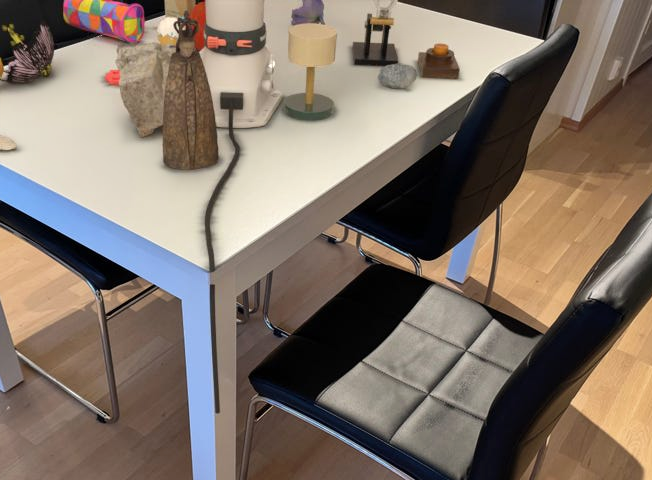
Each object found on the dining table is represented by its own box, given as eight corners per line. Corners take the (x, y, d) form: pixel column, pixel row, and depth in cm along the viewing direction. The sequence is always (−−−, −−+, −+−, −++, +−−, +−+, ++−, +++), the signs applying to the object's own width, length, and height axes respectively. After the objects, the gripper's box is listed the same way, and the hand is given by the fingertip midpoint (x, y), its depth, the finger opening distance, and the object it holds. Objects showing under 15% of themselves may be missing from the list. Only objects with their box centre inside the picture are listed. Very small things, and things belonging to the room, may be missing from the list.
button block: (457, 79, 152) (461, 60, 149) (422, 77, 152) (425, 58, 149) (451, 63, 160) (455, 45, 157) (417, 61, 160) (420, 43, 157)
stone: (88, 44, 122) (127, 74, 114) (172, 30, 130) (214, 57, 122) (98, 115, 131) (134, 147, 123) (175, 98, 139) (215, 127, 131)
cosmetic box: (166, 41, 165) (161, -16, 156) (175, 35, 168) (170, -20, 159) (189, 45, 163) (186, -12, 155) (198, 39, 166) (195, -16, 158)
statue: (188, 177, 115) (177, 17, 98) (158, 163, 118) (141, 6, 101) (224, 160, 120) (219, 5, 103) (194, 147, 123) (184, -5, 106)
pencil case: (61, -20, 163) (90, -12, 170) (56, 22, 167) (85, 28, 174) (126, 0, 154) (153, 7, 162) (119, 44, 158) (147, 49, 165)
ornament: (150, 42, 155) (157, 5, 154) (160, 51, 162) (166, 16, 161) (179, 48, 155) (186, 11, 153) (187, 57, 162) (193, 22, 160)
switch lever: (393, 27, 148) (394, 15, 147) (370, 26, 148) (371, 14, 147) (387, 31, 158) (388, 20, 157) (366, 31, 158) (366, 19, 157)
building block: (105, 86, 143) (106, 72, 148) (144, 85, 144) (144, 71, 150) (104, 82, 142) (106, 68, 148) (143, 81, 143) (143, 67, 149)
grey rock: (416, 87, 148) (416, 62, 146) (418, 87, 145) (418, 61, 143) (377, 89, 149) (377, 65, 147) (378, 90, 146) (378, 64, 144)
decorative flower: (71, 57, 137) (70, 36, 148) (20, 12, 130) (23, -6, 141) (27, 110, 141) (29, 86, 152) (-25, 69, 134) (-19, 47, 145)
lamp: (333, 121, 133) (340, 40, 123) (282, 119, 133) (284, 38, 123) (333, 101, 141) (339, 23, 130) (284, 99, 141) (287, 21, 130)
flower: (344, 3, 170) (311, -21, 169) (327, 26, 167) (293, 1, 166) (333, 28, 178) (301, 5, 178) (317, 50, 176) (284, 27, 175)
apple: (180, 52, 158) (176, 2, 151) (204, 39, 166) (202, -9, 158) (220, 61, 155) (218, 10, 148) (243, 47, 162) (243, -2, 155)
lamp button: (448, 56, 152) (449, 48, 151) (433, 56, 152) (435, 47, 151) (446, 51, 155) (447, 43, 153) (432, 51, 155) (433, 43, 153)
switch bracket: (397, 66, 157) (403, 25, 151) (354, 64, 157) (357, 23, 151) (393, 49, 166) (398, 9, 160) (352, 47, 166) (356, 8, 160)
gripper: (340, -55, 136) (335, 20, 145) (443, -50, 136) (431, 24, 145) (340, -62, 140) (335, 10, 150) (439, -58, 140) (428, 15, 150)
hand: (383, 17), depth 147 cm, fingers closed, pressing on switch lever
